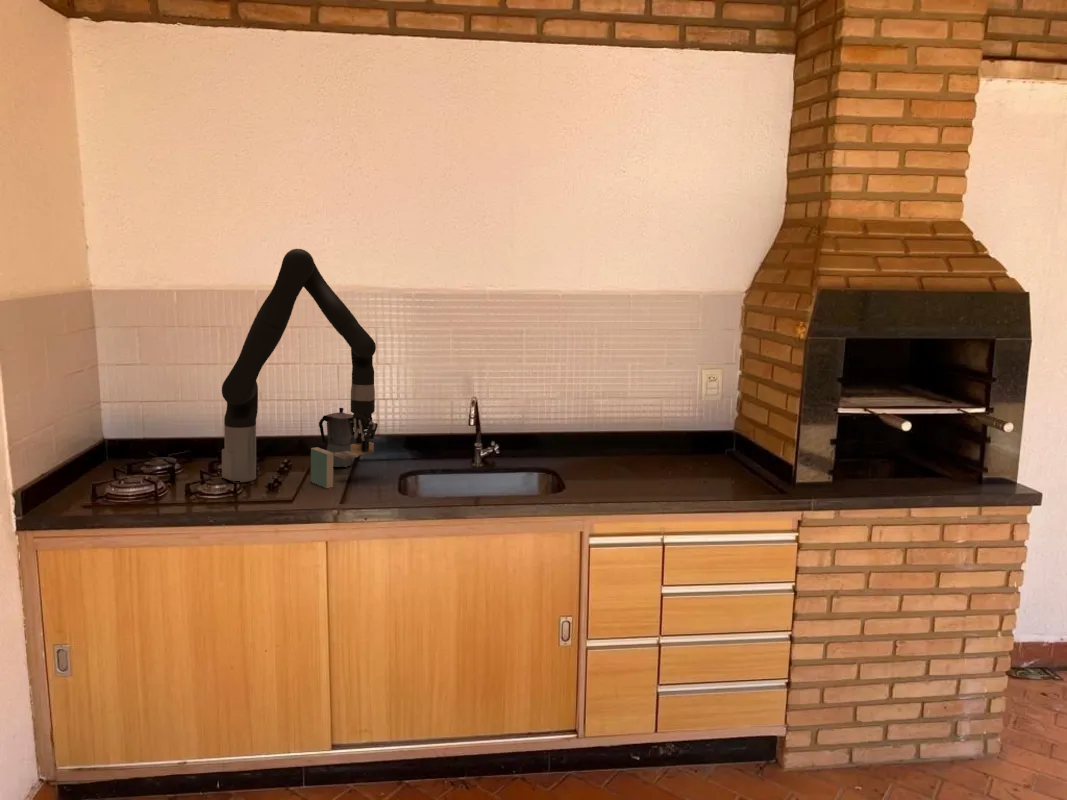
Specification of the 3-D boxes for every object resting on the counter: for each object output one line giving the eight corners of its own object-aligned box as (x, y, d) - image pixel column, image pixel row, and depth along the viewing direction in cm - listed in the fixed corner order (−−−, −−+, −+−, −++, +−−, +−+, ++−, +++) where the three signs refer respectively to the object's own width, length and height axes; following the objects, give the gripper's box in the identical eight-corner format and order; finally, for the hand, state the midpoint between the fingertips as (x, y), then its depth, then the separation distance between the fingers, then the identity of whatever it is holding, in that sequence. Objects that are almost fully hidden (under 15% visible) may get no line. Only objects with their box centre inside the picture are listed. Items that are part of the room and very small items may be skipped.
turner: (365, 450, 264) (365, 440, 264) (376, 453, 260) (376, 444, 260) (333, 455, 256) (334, 445, 255) (344, 459, 252) (344, 449, 251)
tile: (326, 489, 247) (326, 453, 245) (310, 482, 253) (310, 448, 251) (333, 487, 249) (333, 452, 247) (317, 481, 255) (317, 447, 253)
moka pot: (363, 464, 278) (364, 407, 275) (330, 472, 265) (331, 413, 262) (343, 459, 283) (344, 403, 280) (309, 467, 270) (310, 408, 267)
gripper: (340, 395, 259) (339, 448, 262) (365, 402, 249) (364, 456, 252) (360, 393, 264) (359, 445, 267) (385, 400, 255) (384, 453, 258)
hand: (362, 450), depth 260 cm, fingers closed on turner, 2 cm apart
